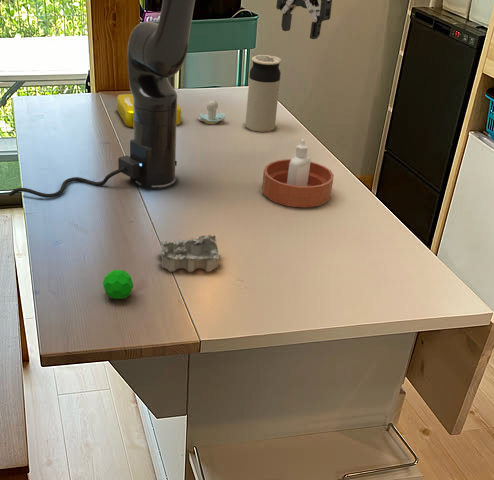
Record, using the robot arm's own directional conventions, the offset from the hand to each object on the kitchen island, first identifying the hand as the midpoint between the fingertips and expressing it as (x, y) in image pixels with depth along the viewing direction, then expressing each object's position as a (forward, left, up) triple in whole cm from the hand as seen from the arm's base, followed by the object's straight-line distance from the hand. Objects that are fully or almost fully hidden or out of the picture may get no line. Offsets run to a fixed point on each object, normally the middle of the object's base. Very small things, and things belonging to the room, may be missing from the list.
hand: (299, 34), depth 167 cm
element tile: (-16, +36, -27) cm, 48 cm away
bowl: (-20, -21, -27) cm, 40 cm away
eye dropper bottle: (-20, -21, -27) cm, 40 cm away
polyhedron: (-76, -30, -27) cm, 86 cm away
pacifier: (-4, +24, -27) cm, 36 cm away
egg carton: (-59, -29, -27) cm, 71 cm away
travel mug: (+4, +13, -27) cm, 30 cm away
